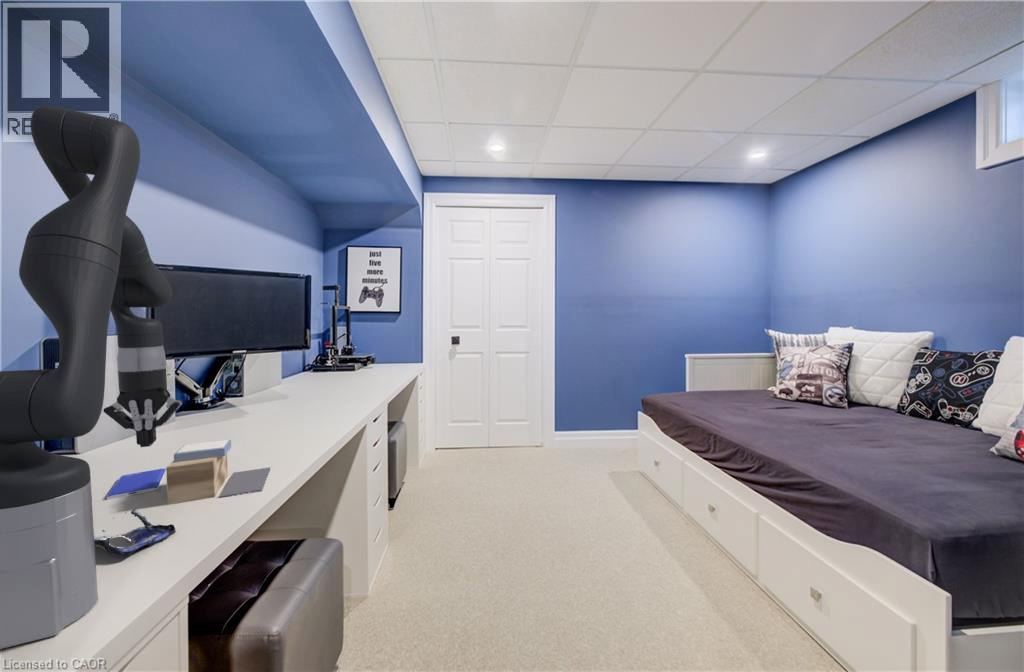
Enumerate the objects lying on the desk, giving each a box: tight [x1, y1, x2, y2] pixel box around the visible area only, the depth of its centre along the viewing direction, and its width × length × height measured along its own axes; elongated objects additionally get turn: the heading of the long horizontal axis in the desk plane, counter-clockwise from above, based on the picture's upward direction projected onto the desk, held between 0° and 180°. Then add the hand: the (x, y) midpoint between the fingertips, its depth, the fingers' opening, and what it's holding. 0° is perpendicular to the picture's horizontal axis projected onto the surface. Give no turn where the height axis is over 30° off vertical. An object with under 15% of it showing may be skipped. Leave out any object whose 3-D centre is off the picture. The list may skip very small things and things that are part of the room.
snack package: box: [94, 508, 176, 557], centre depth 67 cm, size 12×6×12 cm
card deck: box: [173, 439, 232, 463], centre depth 88 cm, size 6×9×2 cm
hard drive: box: [106, 468, 166, 501], centre depth 90 cm, size 2×8×12 cm
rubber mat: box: [218, 467, 272, 499], centre depth 92 cm, size 14×8×1 cm, turn 26°
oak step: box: [165, 453, 229, 505], centre depth 88 cm, size 12×8×8 cm, turn 26°
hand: (147, 445), depth 84 cm, fingers closed
